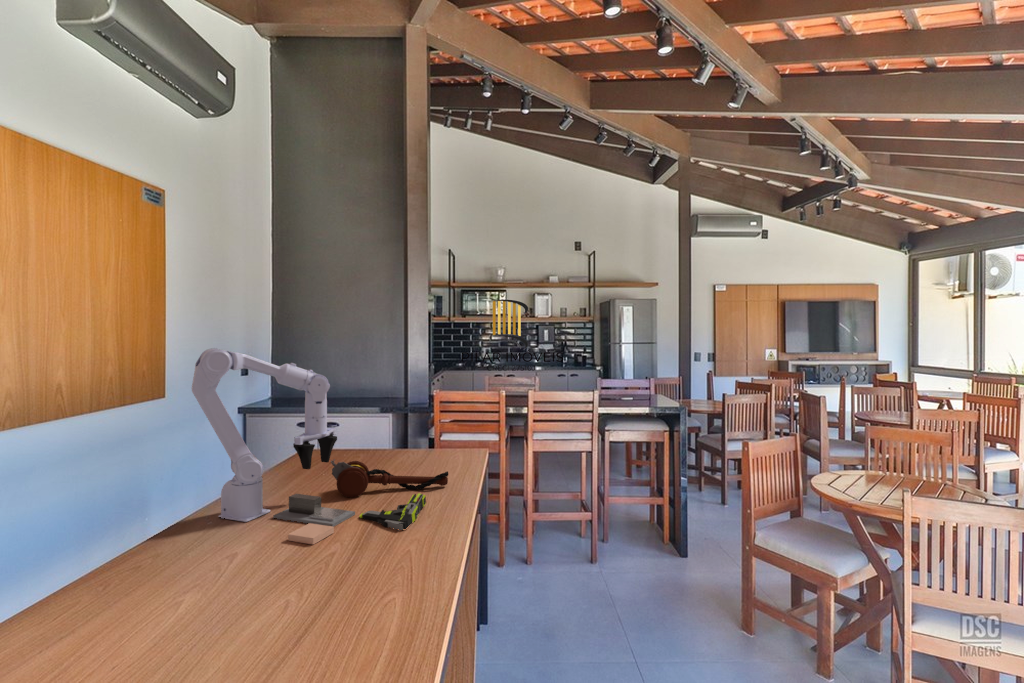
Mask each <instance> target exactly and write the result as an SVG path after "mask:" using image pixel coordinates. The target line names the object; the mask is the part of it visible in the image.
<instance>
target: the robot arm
mask: <svg viewBox="0 0 1024 683" xmlns="http://www.w3.org/2000/svg"><path fill="white" fill-rule="evenodd" d="M242 369H243V370H244V369H246V370H250V371H254V372H257V373H259V374H264V375H267V376H271V377H274V378H275V381H276V382H277V384H279V385H282V386H285V387H289V388H291V389H296V390H297V391H304V393H305V394H304V397H305V400H304V432H303V433H302V434H299V435H298V436H295V437H294V440H293V441H294V443H293V448H294V450H295V452H296V454H297V455H298V457H299V461H300V464H301V467H302V470H311V468H312V459H313V458H312V457H313V452H314V448H315V446H316V445H315V444H312V443H310V442H312V441H316V440H317V442H318V445H319V451H320V454H319V455H320V462H321V463H329V461H330V460H331V455H332V452H333V449H334V447H335V444H336V442H337V441H338V436H336V435H337V432H336V431H337V428H336V427H328V400H327V397H328V396H327V393H328V392H329V390H330V388H331V384H330V382H329V379H328V378H327V377H326V376H325V375H323V374H320V373H316V372H315V371H314V370H313V369H306V368H305V369H304V368H302V367H299V366H297V363H294V362H290V363H284V364H282V365H276V364H274V363H270V362H268V361H266V360H263V359H260V358H258V357H254V356H251V355H249V354H245V353H241V352H237V351H236V352H235V351H229V350H225V349H224V350H223V349H220V348H217V347H216V348H215V347H212V348H208V349H206V350H204V351H203V352H202V353H201V354H200V355H199V357H198V359H197V360H196V362H195V365H194V373H193V378H192V385H191V392H192V394H193V396H194V397H195V399H196V401H197V402H198V403H197V404H199V406H200V409H202V411H203V413H204V415H205V416H206V418H207V420H208V422H209V423H210V426H211V427H212V429H213V430H214V433H215V434H216V436H217V438H218V439H219V441H220V442H221V445H222V446H223V448H224V450H225V452H226V454H227V455H228V457H229V459H230V468H231V471H232V472H233V474H234V476H233V477H232V478H231V479H229V480H228V481H226V482H225V483H224V484H223V486H222V488H221V493H220V514H218V515H217V517H221V518H220V519H224V518H225V520H231V521H238V522H244V523H246V522H250V521H253V520H254V519H257V518H259V517H262V516H264V515H266V514H268V513H270V512H271V509H267V508H263V506H264V504H263V503H264V502H263V500H264V499H263V495H264V494H263V489H264V488H263V487H264V486H263V484H264V482H263V476H262V475H263V474H264V470H265V469H264V465H263V463H262V462H261V461H260V460H259V459H258V458H257V456H256V454H254V453H253V452H251V451H250V449H249V447H248V446H247V444H246V442H245V441H244V439H243V437H242V435H241V433H240V431H239V430H238V428H237V427H236V425H235V423H234V421H233V419H232V417H231V416H230V413H229V411H228V410H227V408H226V406H225V405H224V403H223V401H222V399H221V398H220V396H219V394H218V392H217V387H218V386H219V383H220V381H221V378H223V377H224V376H225V374H227V372H228V371H229V370H232V371H239V370H242Z"/></svg>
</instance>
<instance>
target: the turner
mask: <svg viewBox="0 0 1024 683" xmlns="http://www.w3.org/2000/svg"><path fill="white" fill-rule="evenodd" d="M321 507H322V496H317V495H312V494H311V495H310V494H301V493H294V494H291V495H290V496H288V509H289V512H293V513H300V514H307V515H310V518H314V519H321V520H328V521H334V520H336V519H338V518H340V517H342V516H344V515H345V514H347V513H348V511H349V510H347V509H340V510H339V508H333V507H332V508H331V507H325V508H324V509H322V510H321Z"/></svg>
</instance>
